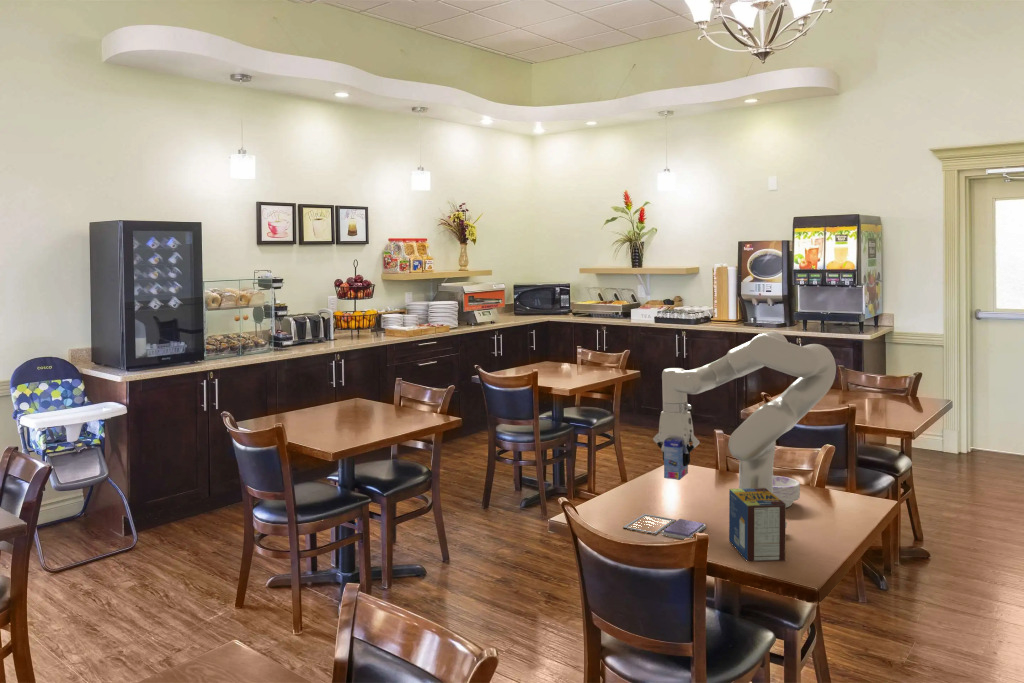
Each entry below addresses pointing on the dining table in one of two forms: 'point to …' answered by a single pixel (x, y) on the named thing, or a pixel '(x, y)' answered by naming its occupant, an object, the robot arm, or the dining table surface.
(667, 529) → the ink pad
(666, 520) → the marked card
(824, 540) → the dining table surface
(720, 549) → the dining table surface
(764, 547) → the protein box
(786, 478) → the paper bowls
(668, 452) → the ink cartridge box
